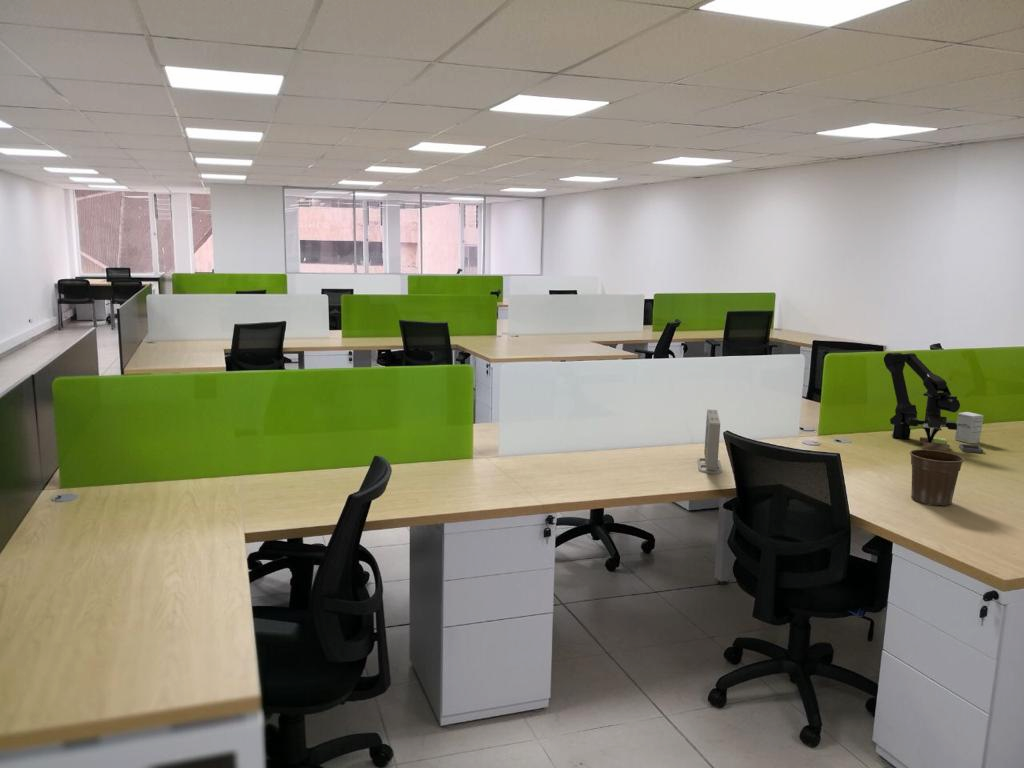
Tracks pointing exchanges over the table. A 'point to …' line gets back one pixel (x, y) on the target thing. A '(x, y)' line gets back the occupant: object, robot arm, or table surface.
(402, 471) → the table surface
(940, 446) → the lane rails
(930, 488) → the plant pot
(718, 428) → the network device
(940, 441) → the lime block
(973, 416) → the supplement box
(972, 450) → the trap pit
